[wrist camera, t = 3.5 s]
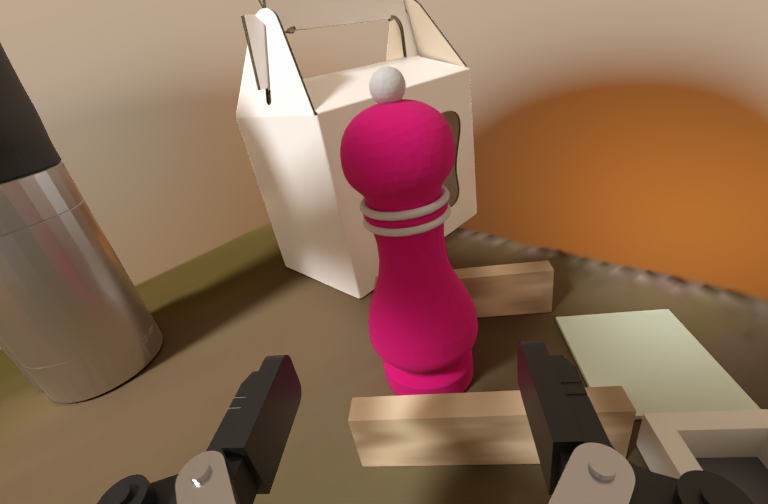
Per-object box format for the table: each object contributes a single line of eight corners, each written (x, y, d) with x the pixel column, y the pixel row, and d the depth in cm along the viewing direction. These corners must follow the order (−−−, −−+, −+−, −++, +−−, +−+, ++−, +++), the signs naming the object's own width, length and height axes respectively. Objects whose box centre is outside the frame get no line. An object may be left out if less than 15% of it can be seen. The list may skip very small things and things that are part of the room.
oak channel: (362, 466, 22) (347, 421, 20) (383, 313, 34) (375, 276, 32) (624, 462, 20) (636, 411, 18) (546, 301, 32) (548, 260, 30)
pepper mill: (394, 428, 24) (314, 84, 14) (371, 351, 30) (305, 79, 20) (500, 393, 24) (491, 49, 15) (455, 326, 31) (430, 54, 21)
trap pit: (710, 583, 15) (727, 553, 14) (636, 444, 20) (643, 413, 19) (888, 589, 14) (923, 557, 13) (762, 441, 19) (778, 409, 18)
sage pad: (604, 420, 22) (604, 416, 22) (555, 320, 30) (555, 317, 29) (761, 415, 20) (763, 411, 20) (667, 312, 28) (667, 308, 28)
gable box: (402, 200, 58) (370, -19, 45) (479, 213, 49) (466, -53, 36) (283, 268, 45) (187, -13, 32) (358, 302, 36) (269, -65, 23)
